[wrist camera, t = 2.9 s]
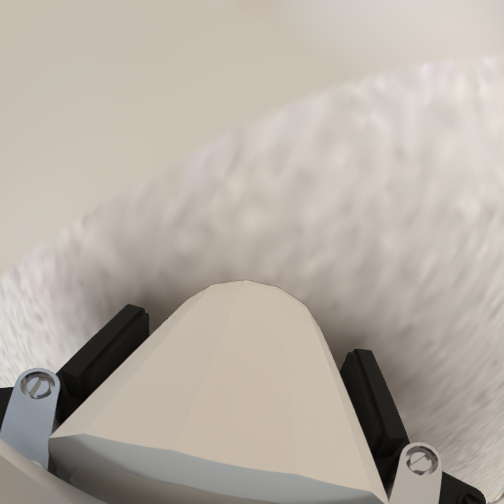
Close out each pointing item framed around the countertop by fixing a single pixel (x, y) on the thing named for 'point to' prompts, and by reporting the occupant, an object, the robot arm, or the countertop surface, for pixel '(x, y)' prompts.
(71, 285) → the countertop surface
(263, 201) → the countertop surface
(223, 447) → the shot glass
